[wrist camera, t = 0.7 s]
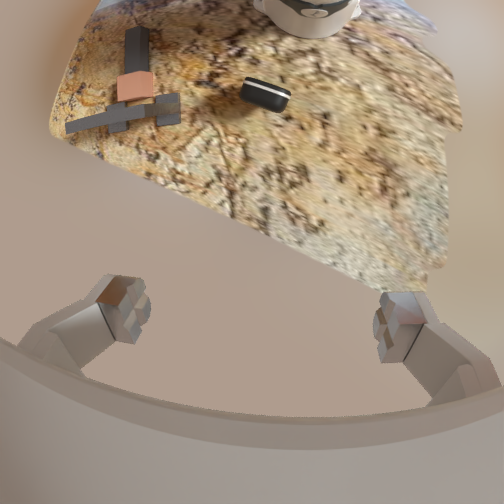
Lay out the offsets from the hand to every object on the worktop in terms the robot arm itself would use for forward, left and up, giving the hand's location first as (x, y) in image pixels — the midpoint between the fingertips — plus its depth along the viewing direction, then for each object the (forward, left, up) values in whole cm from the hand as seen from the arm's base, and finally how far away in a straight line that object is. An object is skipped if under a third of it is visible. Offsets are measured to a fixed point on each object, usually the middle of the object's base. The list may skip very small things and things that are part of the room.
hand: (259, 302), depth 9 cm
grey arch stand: (-7, -26, -43) cm, 51 cm away
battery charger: (-8, -2, -43) cm, 43 cm away
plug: (-17, -26, -43) cm, 53 cm away
